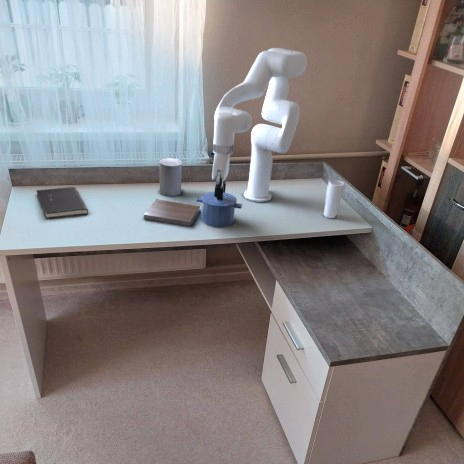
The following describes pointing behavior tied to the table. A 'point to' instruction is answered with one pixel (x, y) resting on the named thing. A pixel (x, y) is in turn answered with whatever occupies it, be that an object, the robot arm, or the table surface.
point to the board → (172, 212)
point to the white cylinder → (333, 197)
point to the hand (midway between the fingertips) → (219, 194)
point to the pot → (218, 214)
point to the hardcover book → (61, 202)
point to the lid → (219, 199)
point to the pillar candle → (170, 176)
